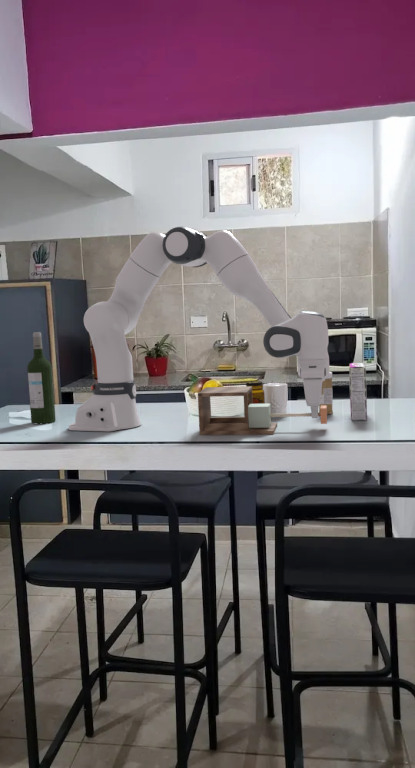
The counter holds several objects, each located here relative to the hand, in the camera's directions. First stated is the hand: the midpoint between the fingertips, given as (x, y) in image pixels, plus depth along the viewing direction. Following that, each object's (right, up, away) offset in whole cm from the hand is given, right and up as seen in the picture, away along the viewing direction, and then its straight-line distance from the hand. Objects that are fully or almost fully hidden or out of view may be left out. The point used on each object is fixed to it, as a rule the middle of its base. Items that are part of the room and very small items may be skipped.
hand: (314, 417), depth 199 cm
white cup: (-8, -1, +28) cm, 29 cm away
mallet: (-8, -2, +2) cm, 8 cm away
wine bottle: (-85, -4, +35) cm, 92 cm away
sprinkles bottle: (+8, 0, +26) cm, 27 cm away
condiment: (-15, -2, +23) cm, 27 cm away
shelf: (-21, -4, +5) cm, 22 cm away
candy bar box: (+16, -1, +17) cm, 23 cm away
